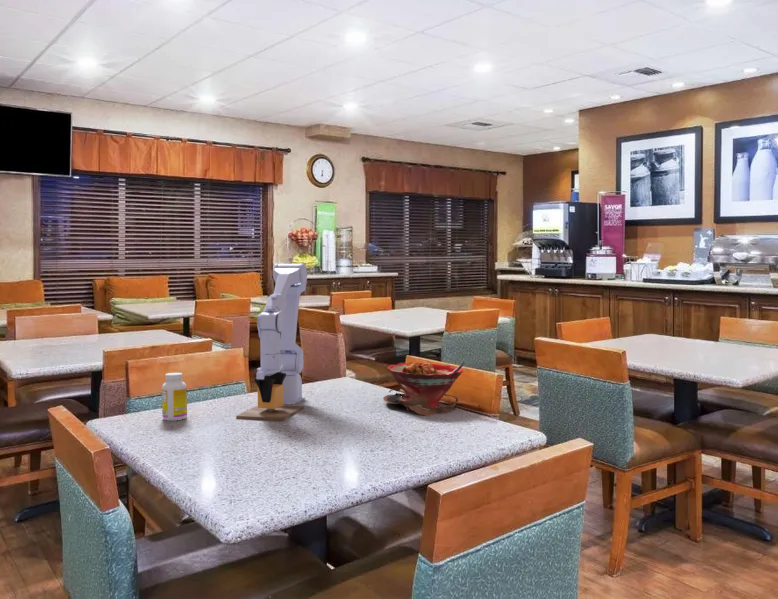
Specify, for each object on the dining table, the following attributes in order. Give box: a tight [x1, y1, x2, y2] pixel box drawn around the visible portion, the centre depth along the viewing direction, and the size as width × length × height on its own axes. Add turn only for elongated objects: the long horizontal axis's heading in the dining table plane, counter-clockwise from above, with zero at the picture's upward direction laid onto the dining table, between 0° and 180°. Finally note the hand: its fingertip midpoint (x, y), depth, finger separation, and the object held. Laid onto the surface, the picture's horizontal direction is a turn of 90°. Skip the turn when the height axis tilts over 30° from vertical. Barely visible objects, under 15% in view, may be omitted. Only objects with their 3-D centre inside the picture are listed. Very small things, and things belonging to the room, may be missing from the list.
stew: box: [383, 359, 467, 417], centre depth 201 cm, size 28×24×16 cm
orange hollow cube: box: [257, 384, 285, 409], centre depth 192 cm, size 6×6×6 cm
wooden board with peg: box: [235, 404, 305, 422], centre depth 192 cm, size 16×14×6 cm
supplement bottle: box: [161, 372, 188, 422], centre depth 186 cm, size 7×7×13 cm
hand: (270, 399), depth 192 cm, fingers closed on orange hollow cube, 6 cm apart
